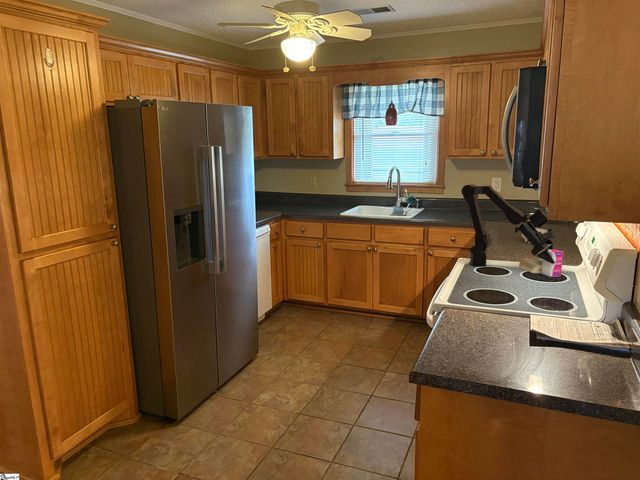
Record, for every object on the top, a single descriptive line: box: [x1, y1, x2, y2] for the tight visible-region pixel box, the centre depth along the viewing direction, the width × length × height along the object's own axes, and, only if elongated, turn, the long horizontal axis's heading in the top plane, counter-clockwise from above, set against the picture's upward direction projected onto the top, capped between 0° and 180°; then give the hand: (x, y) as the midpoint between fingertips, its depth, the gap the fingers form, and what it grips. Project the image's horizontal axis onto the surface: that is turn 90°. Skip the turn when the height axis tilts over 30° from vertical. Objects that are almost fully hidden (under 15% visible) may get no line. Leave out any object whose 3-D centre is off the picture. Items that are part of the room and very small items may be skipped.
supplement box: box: [540, 248, 565, 278], centre depth 214 cm, size 6×6×12 cm
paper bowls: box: [520, 227, 548, 244], centre depth 293 cm, size 15×15×8 cm
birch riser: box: [519, 258, 543, 274], centre depth 226 cm, size 13×13×4 cm
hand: (555, 261), depth 213 cm, fingers closed on supplement box, 8 cm apart
